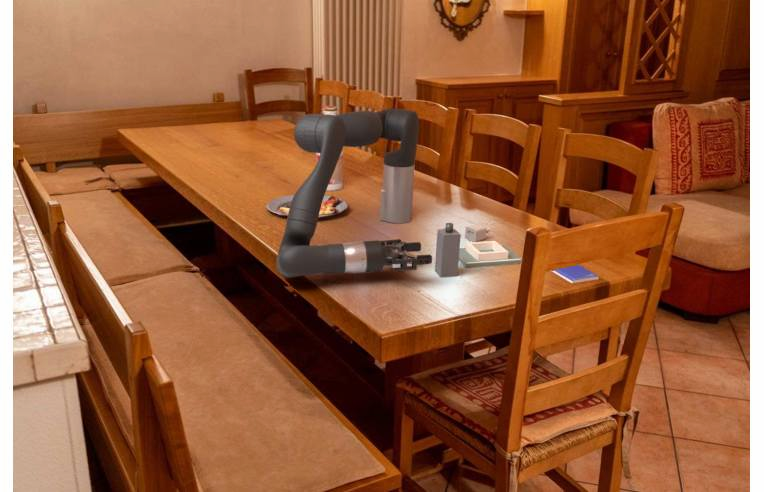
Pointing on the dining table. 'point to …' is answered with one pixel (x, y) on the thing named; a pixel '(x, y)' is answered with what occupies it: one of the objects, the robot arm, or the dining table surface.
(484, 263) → the board
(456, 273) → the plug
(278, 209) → the food plate
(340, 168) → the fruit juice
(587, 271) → the blue book
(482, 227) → the usb wall charger
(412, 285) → the dining table surface
